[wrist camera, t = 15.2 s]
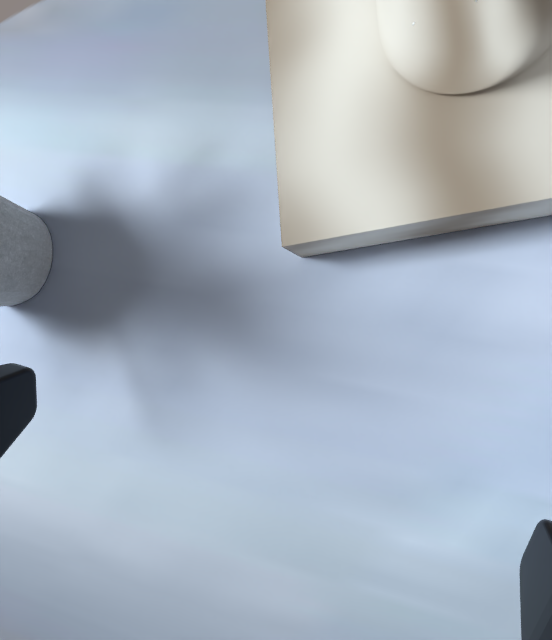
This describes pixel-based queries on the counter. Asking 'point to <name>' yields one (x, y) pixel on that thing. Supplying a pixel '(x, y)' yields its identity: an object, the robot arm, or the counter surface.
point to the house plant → (22, 253)
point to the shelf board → (394, 138)
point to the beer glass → (463, 41)
